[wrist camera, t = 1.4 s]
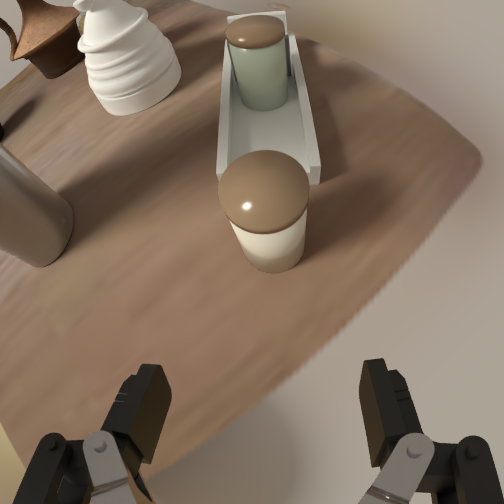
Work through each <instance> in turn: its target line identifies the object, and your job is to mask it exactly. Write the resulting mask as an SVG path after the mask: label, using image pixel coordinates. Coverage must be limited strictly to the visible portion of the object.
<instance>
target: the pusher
mask: <svg viewBox="0 0 504 504" xmlns="http://www.w3.org/2000/svg"><path fill="white" fill-rule="evenodd" d="M284 38H285V51H286V65H287V76H291V59H290V44H289V35H285V36H284ZM227 47H228V51H229V55H230V60H231V64H232V68H233V73H234V77H235V81H237V77H236V73H235V68H234V64H233V59H232V55H231V51H230V46H229V43H228V41H227Z"/></svg>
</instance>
